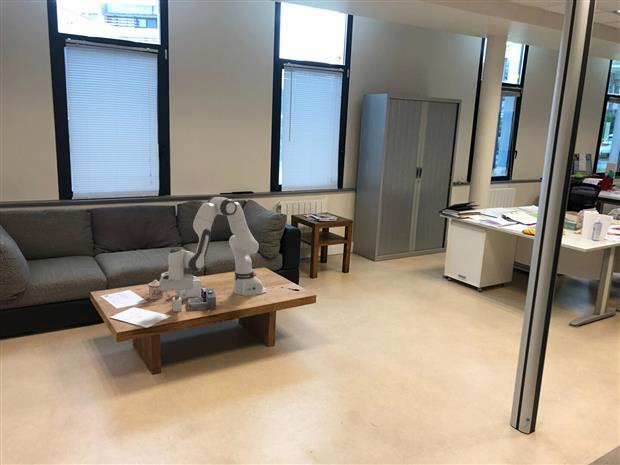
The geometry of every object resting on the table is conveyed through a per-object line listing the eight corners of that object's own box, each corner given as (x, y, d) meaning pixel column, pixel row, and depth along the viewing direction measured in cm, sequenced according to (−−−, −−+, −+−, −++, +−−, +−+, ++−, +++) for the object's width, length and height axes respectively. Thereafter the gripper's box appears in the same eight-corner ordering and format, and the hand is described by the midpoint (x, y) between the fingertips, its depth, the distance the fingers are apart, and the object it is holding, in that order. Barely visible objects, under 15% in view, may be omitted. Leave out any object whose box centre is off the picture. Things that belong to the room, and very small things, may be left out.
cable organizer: (178, 299, 315) (178, 282, 312) (174, 294, 324) (174, 277, 321) (201, 296, 322) (201, 279, 319) (197, 291, 331) (196, 275, 328)
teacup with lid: (152, 300, 312) (151, 283, 309) (146, 296, 319) (145, 279, 316) (169, 296, 320) (169, 279, 317) (163, 292, 326) (163, 276, 324)
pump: (181, 307, 302) (180, 293, 300) (181, 310, 298) (181, 296, 296) (172, 308, 301) (172, 294, 299) (173, 311, 296) (172, 297, 294)
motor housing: (213, 300, 316) (212, 286, 314) (216, 309, 302) (216, 295, 300) (187, 302, 312) (187, 288, 309) (189, 311, 297) (189, 297, 295)
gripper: (193, 272, 300) (193, 293, 303) (158, 273, 294) (159, 295, 297) (194, 275, 294) (194, 297, 297) (158, 277, 288) (159, 299, 291)
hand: (176, 296), depth 297 cm, fingers open, 8 cm apart
